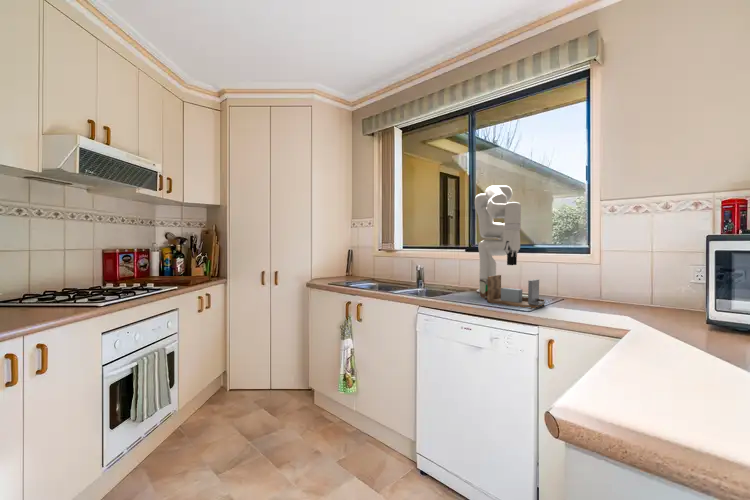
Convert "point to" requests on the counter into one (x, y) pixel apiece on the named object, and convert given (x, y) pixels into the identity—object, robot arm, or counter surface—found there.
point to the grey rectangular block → (511, 294)
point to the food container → (483, 288)
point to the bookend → (534, 292)
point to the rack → (495, 294)
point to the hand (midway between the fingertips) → (511, 264)
